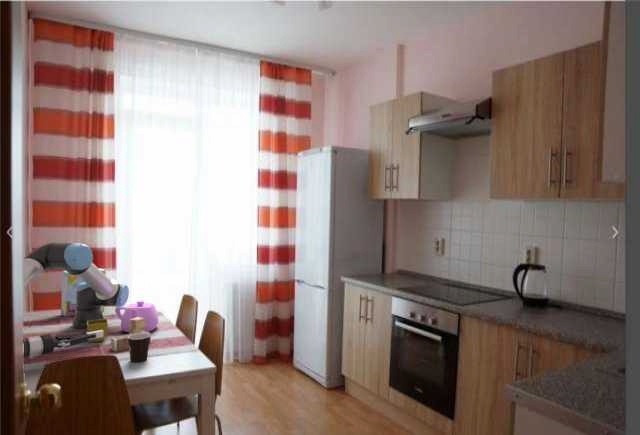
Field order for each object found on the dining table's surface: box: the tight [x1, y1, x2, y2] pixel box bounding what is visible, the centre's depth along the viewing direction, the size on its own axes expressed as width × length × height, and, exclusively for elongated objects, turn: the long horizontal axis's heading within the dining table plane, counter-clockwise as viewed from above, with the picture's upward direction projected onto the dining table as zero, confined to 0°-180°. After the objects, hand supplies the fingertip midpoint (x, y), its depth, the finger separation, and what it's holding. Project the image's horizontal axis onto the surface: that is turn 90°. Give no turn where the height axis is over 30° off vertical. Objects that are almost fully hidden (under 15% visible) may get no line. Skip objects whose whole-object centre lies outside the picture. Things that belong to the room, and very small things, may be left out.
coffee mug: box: [128, 333, 151, 364], centre depth 176 cm, size 12×9×10 cm
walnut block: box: [110, 331, 152, 352], centre depth 195 cm, size 5×5×16 cm
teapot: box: [114, 300, 159, 334], centre depth 217 cm, size 23×21×15 cm
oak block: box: [128, 317, 145, 334], centre depth 205 cm, size 5×5×10 cm
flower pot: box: [86, 318, 109, 343], centre depth 202 cm, size 9×9×9 cm
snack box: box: [60, 267, 107, 318], centre depth 251 cm, size 22×9×26 cm, turn 141°
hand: (102, 333), depth 185 cm, fingers closed
